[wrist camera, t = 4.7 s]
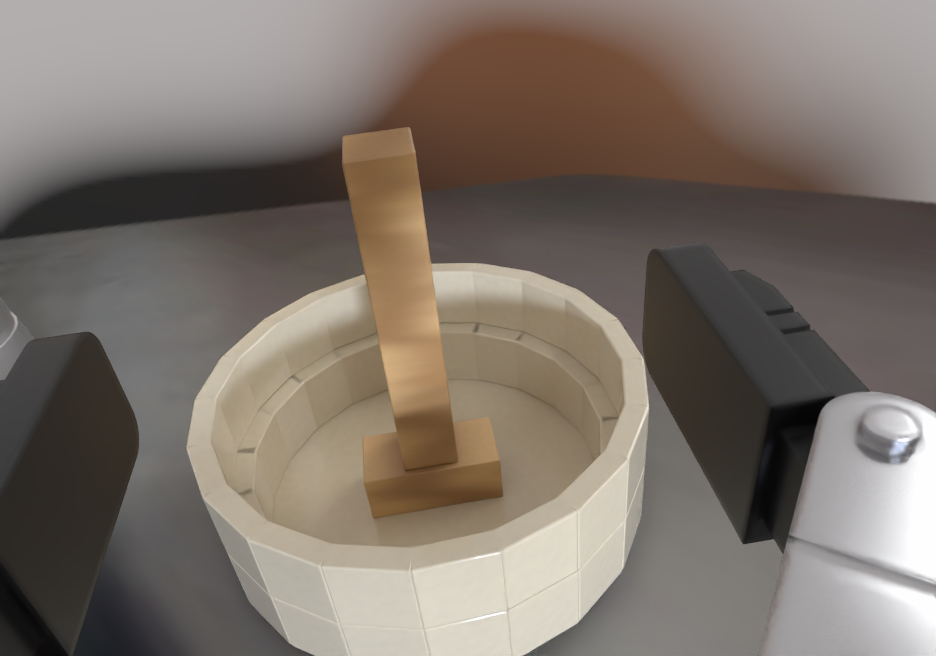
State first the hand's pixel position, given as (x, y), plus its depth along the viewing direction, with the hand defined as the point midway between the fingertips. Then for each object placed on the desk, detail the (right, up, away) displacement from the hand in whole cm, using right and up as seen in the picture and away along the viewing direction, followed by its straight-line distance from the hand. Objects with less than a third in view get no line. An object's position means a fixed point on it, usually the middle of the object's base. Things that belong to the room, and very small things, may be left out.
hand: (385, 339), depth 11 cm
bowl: (0, -6, +18) cm, 19 cm away
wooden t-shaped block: (0, -6, +18) cm, 19 cm away
